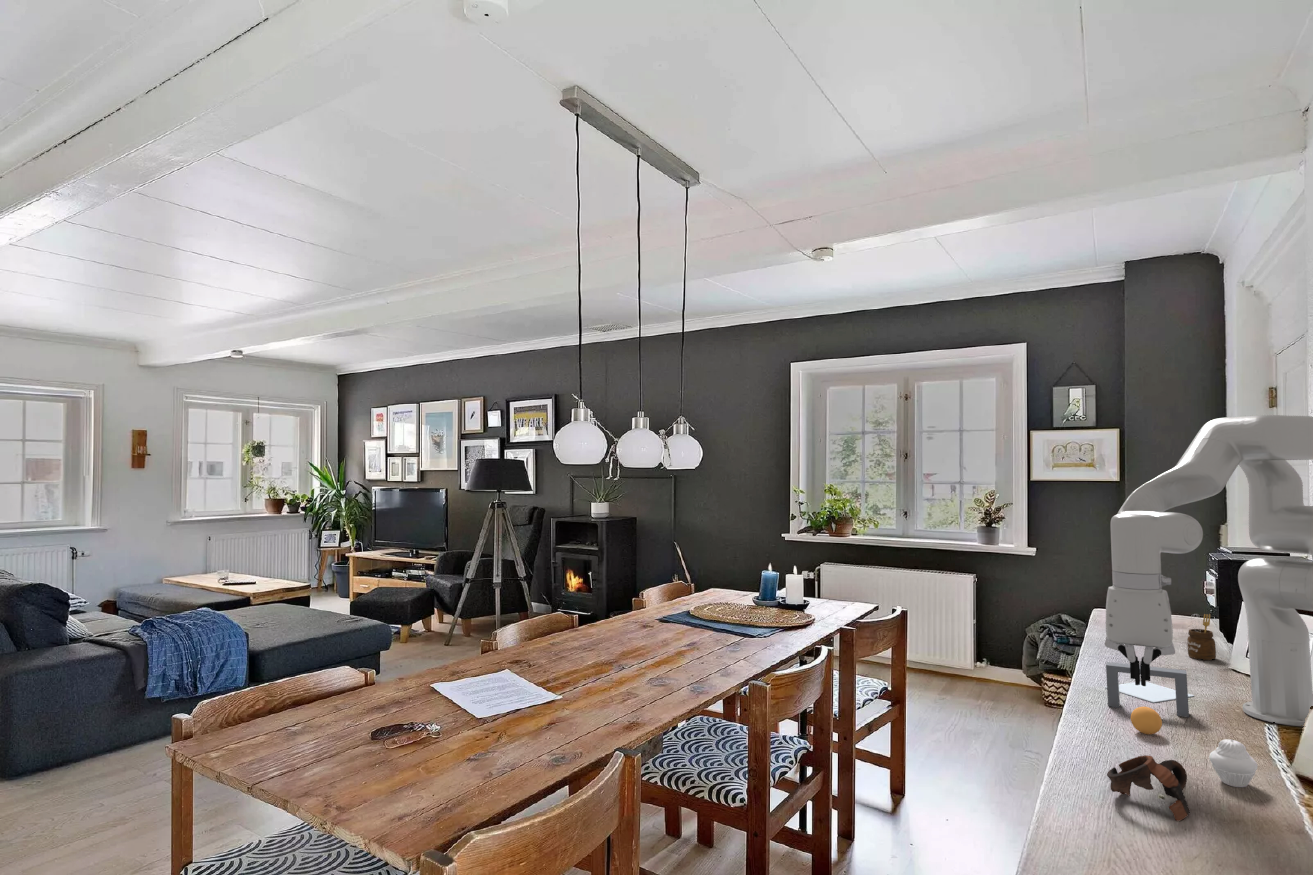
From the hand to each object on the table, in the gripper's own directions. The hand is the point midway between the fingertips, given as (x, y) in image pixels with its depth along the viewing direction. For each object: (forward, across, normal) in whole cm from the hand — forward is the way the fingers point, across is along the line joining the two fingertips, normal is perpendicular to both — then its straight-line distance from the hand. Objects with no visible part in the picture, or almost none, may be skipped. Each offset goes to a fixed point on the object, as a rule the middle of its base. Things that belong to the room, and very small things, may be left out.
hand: (1140, 683), depth 132 cm
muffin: (+12, -12, +8) cm, 19 cm away
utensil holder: (+10, -12, -80) cm, 81 cm away
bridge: (+11, 0, -26) cm, 29 cm away
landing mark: (+11, 0, -40) cm, 42 cm away
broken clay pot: (+13, -2, +23) cm, 27 cm away
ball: (+9, 0, -10) cm, 14 cm away
